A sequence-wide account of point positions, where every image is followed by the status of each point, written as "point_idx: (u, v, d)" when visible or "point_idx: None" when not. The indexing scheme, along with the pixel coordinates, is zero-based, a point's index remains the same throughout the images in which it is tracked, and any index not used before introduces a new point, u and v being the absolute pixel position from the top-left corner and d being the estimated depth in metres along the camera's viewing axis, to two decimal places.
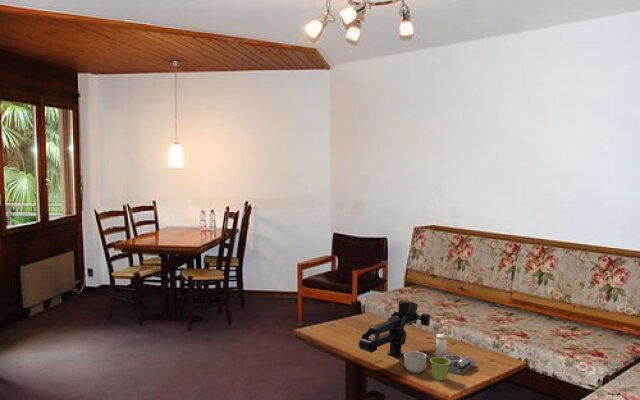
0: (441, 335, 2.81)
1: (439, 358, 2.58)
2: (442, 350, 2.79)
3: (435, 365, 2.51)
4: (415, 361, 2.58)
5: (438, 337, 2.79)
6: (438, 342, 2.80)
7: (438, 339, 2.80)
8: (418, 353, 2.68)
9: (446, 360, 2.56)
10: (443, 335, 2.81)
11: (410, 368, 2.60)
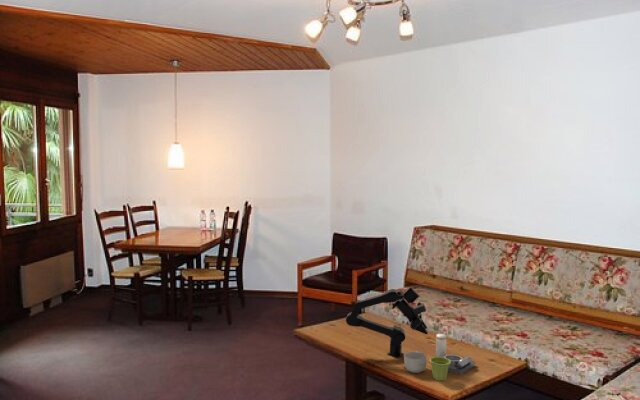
0: (441, 335, 2.81)
1: (439, 358, 2.58)
2: (442, 350, 2.79)
3: (435, 365, 2.51)
4: (415, 361, 2.58)
5: (438, 337, 2.79)
6: (438, 342, 2.80)
7: (438, 339, 2.80)
8: (418, 353, 2.68)
9: (446, 360, 2.56)
10: (443, 335, 2.81)
11: (410, 368, 2.60)
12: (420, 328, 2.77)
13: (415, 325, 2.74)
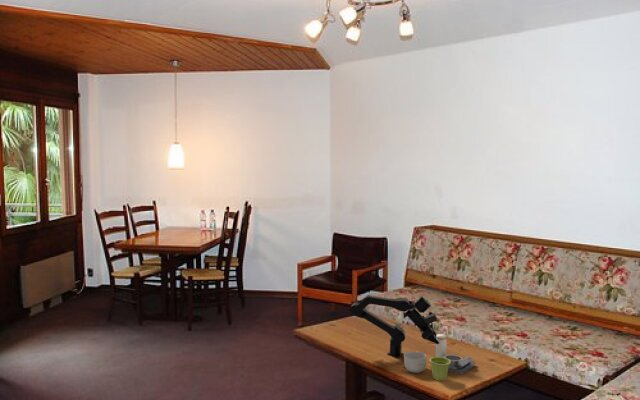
0: (441, 335, 2.81)
1: (439, 358, 2.58)
2: (442, 350, 2.79)
3: (435, 365, 2.51)
4: (415, 361, 2.58)
5: (438, 337, 2.79)
6: None
7: (438, 339, 2.80)
8: (418, 353, 2.68)
9: (446, 360, 2.56)
10: (443, 335, 2.81)
11: (410, 368, 2.60)
12: (431, 338, 2.76)
13: (426, 335, 2.73)
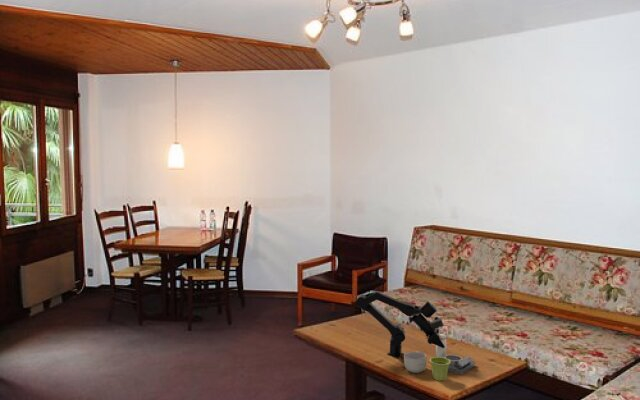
0: (441, 335, 2.81)
1: (439, 358, 2.58)
2: (442, 350, 2.79)
3: (435, 365, 2.51)
4: (415, 361, 2.58)
5: None
6: None
7: None
8: (418, 353, 2.68)
9: (446, 360, 2.56)
10: (443, 335, 2.81)
11: (410, 368, 2.60)
12: (437, 342, 2.78)
13: (432, 340, 2.73)
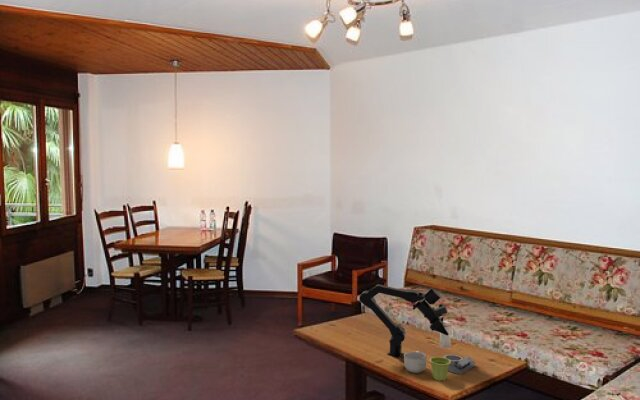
0: (445, 322, 2.78)
1: (439, 358, 2.58)
2: (446, 338, 2.76)
3: (435, 365, 2.51)
4: (415, 361, 2.58)
5: None
6: None
7: None
8: (418, 353, 2.68)
9: (446, 360, 2.56)
10: (447, 322, 2.78)
11: (410, 368, 2.60)
12: (441, 329, 2.75)
13: (435, 327, 2.70)
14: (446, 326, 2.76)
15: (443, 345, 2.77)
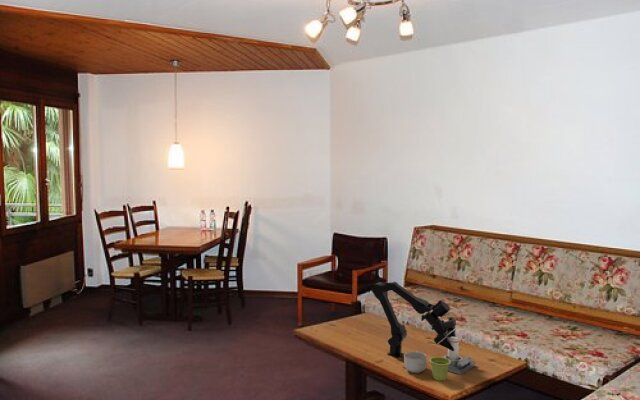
0: (453, 338, 2.70)
1: (439, 358, 2.58)
2: (452, 354, 2.68)
3: (435, 365, 2.51)
4: (415, 361, 2.58)
5: (449, 340, 2.69)
6: None
7: None
8: (418, 353, 2.68)
9: (446, 360, 2.56)
10: (455, 338, 2.70)
11: (410, 368, 2.60)
12: (446, 344, 2.66)
13: (438, 340, 2.64)
14: (453, 342, 2.68)
15: None
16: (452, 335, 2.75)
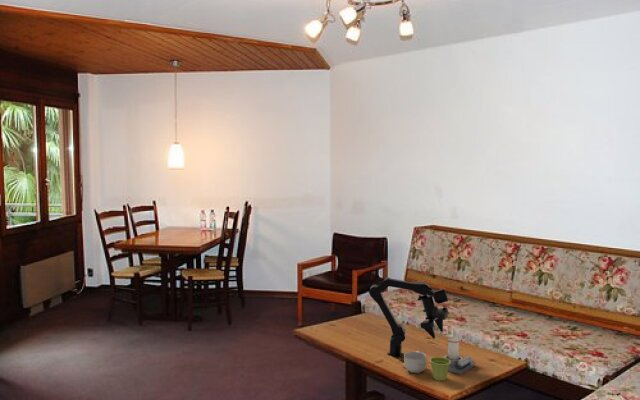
0: (453, 338, 2.70)
1: (439, 358, 2.58)
2: (453, 354, 2.68)
3: (435, 365, 2.51)
4: (415, 361, 2.58)
5: (449, 340, 2.69)
6: (449, 345, 2.69)
7: (449, 341, 2.69)
8: (418, 353, 2.68)
9: (446, 360, 2.56)
10: (455, 338, 2.69)
11: (410, 368, 2.60)
12: (430, 331, 2.77)
13: (424, 326, 2.74)
14: (453, 342, 2.68)
15: None
16: (440, 321, 2.85)
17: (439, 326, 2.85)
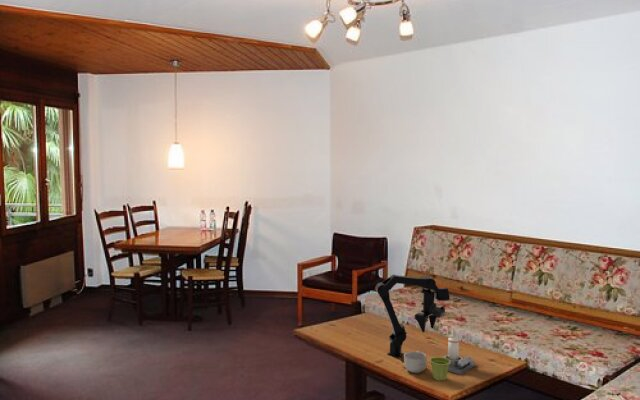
0: (453, 338, 2.70)
1: (439, 358, 2.58)
2: (452, 354, 2.68)
3: (435, 365, 2.51)
4: (415, 361, 2.58)
5: (449, 340, 2.69)
6: (449, 345, 2.69)
7: (449, 341, 2.69)
8: (418, 353, 2.68)
9: (446, 360, 2.56)
10: (455, 338, 2.69)
11: (410, 368, 2.60)
12: (421, 323, 2.82)
13: (418, 318, 2.79)
14: (453, 342, 2.68)
15: None
16: (433, 318, 2.89)
17: (431, 322, 2.90)
